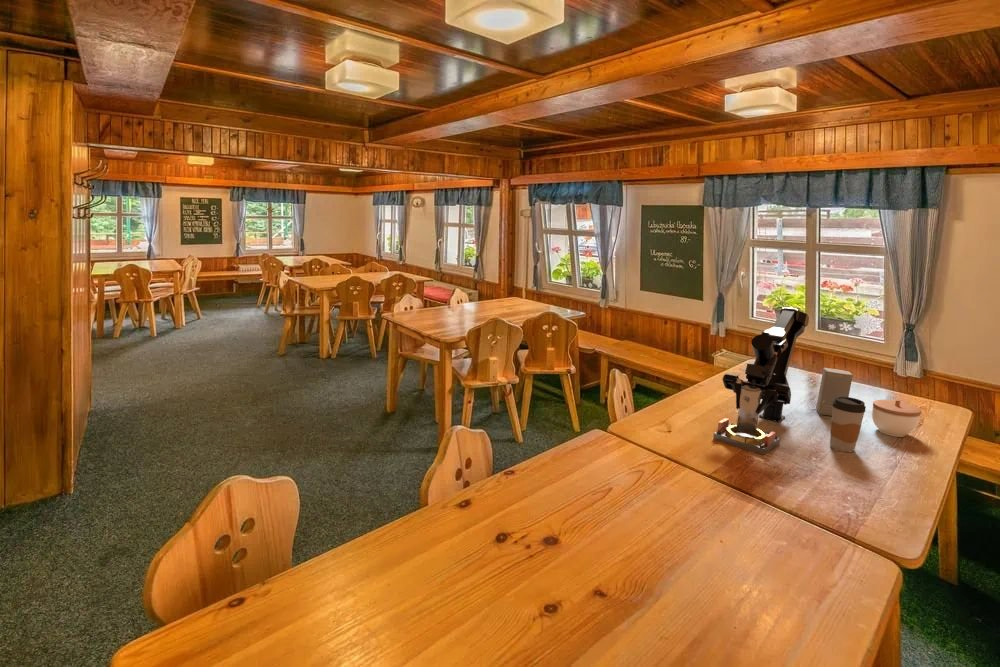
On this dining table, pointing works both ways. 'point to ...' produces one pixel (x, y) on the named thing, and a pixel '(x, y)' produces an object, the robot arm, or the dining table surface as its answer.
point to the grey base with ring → (746, 438)
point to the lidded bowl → (895, 417)
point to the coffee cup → (846, 423)
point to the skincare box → (832, 389)
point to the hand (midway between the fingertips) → (747, 410)
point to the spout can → (748, 409)
